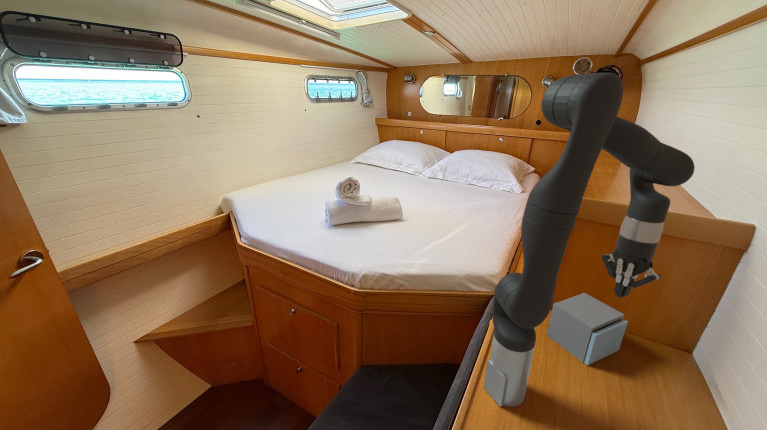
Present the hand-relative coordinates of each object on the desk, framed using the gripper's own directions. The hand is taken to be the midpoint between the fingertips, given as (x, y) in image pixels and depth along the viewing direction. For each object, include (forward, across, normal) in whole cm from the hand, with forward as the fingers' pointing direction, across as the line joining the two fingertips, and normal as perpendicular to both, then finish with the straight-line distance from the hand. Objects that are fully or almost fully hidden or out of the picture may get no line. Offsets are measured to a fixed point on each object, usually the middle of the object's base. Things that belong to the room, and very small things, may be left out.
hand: (620, 295), depth 78 cm
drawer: (+22, +6, -2) cm, 23 cm away
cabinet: (+22, +8, -2) cm, 24 cm away
